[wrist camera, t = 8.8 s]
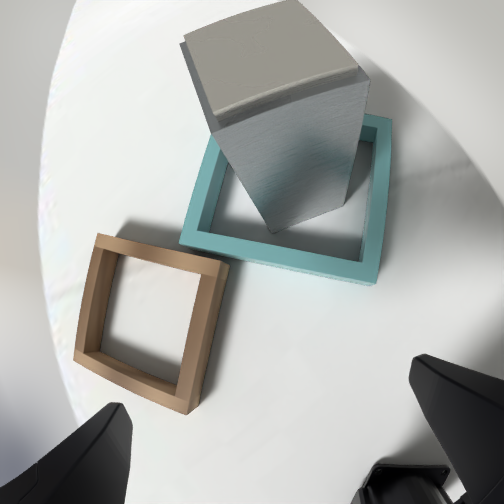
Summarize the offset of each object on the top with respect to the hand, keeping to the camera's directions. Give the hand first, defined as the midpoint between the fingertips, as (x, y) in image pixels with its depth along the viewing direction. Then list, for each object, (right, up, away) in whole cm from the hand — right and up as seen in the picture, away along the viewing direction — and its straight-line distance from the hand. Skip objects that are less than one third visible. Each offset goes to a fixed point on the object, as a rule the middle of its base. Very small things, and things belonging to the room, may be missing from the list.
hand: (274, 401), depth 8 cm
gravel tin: (+2, +9, +12) cm, 15 cm away
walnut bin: (-8, -1, +12) cm, 15 cm away
